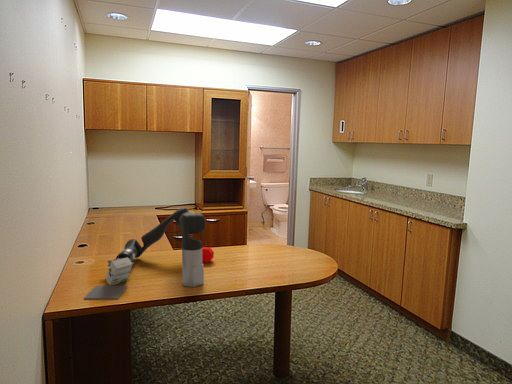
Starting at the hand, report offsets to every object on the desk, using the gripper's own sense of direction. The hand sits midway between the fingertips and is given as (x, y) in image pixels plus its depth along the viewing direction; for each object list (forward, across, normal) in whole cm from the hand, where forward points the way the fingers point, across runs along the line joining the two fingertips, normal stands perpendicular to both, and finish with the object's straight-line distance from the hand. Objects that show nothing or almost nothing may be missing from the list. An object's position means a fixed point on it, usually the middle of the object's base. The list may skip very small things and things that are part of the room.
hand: (114, 269), depth 172 cm
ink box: (+1, 0, -5) cm, 5 cm away
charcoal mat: (+12, 0, -6) cm, 14 cm away
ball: (-30, -40, -7) cm, 50 cm away
